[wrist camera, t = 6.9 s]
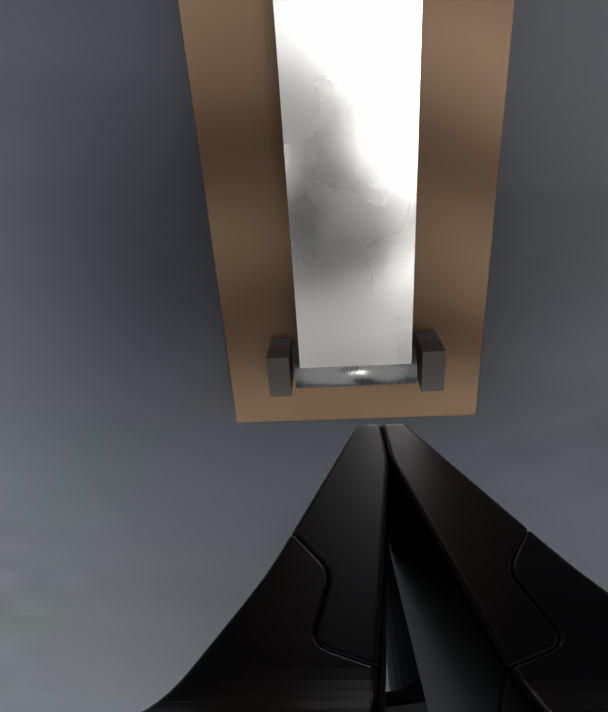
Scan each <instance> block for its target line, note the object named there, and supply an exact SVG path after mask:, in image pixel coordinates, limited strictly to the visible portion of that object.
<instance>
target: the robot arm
mask: <svg viewBox="0 0 608 712" xmlns="http://www.w3.org/2000/svg"><path fill="white" fill-rule="evenodd" d="M386 659H387V667H388V676H389V685H390V691H389V692H385V686H386ZM143 712H608V592H606V591H605V590H603V589H602V588H601V587H599V586H598V585H597V584H595V583H594V582H593V581H591V580H590V579H589V578H587V577H586V576H585V575H583V574H582V573H580V572H579V571H578V570H577V569H575V568H574V567H573V566H572V565H570V564H569V563H568V562H567V561H565V560H564V559H563V558H562V557H560V556H559V555H558V554H557V553H556V552H554V551H553V550H552V549H551V548H549V547H548V546H547V545H546V544H545V543H543V542H542V541H541V540H540V539H539V538H538V537H536V536H535V535H534V534H533V533H532V532H527V528H526V527H524V526H523V525H522V524H521V523H520V522H519V521H517V520H516V519H515V518H514V517H513V516H511V515H510V514H509V513H508V512H507V511H506V510H504V509H503V508H502V507H501V506H500V505H499V504H497V503H496V502H495V501H494V500H493V499H492V498H490V497H489V496H488V495H487V494H486V493H484V492H483V491H482V490H481V489H480V488H479V487H477V486H476V485H475V484H474V483H473V482H472V481H470V480H469V479H468V478H467V477H466V476H465V475H463V474H462V473H461V472H460V471H459V470H457V469H456V468H455V467H454V466H453V465H452V464H450V463H449V462H448V461H447V460H446V459H445V458H443V457H442V456H441V455H440V454H439V453H438V452H436V451H435V450H434V449H433V448H432V447H430V446H429V445H428V444H427V443H426V442H425V441H423V440H422V439H421V438H420V437H419V436H418V435H416V434H415V433H414V432H413V431H412V430H411V429H409V428H408V427H407V426H406V425H404V424H385V425H383V426H382V427H380V426H379V425H359V426H357V427H356V429H355V430H354V432H353V434H352V435H351V437H350V439H349V440H348V442H347V444H346V445H345V447H344V449H343V450H342V452H341V454H340V455H339V457H338V459H337V460H336V462H335V464H334V465H333V467H332V469H331V470H330V472H329V474H328V475H327V477H326V479H325V480H324V482H323V484H322V485H321V487H320V489H319V490H318V492H317V493H316V495H315V497H314V498H313V500H312V502H311V503H310V505H309V507H308V508H307V510H306V512H305V513H304V515H303V517H302V518H301V520H300V522H299V523H298V525H297V527H296V528H295V530H294V532H293V533H292V536H291V537H290V538H289V540H288V541H287V543H286V545H285V546H284V548H283V550H282V551H281V553H280V554H279V556H278V557H277V559H276V561H275V562H274V564H273V565H272V567H271V568H270V570H269V571H268V573H267V574H266V576H265V577H264V578H263V580H262V581H261V582H260V584H259V585H258V586H257V588H256V589H255V590H254V591H253V593H252V594H251V595H250V597H249V598H248V599H247V601H246V602H245V603H244V604H243V606H242V607H241V608H240V609H239V611H238V612H237V613H236V614H235V615H234V617H233V618H232V619H231V620H230V622H229V623H228V624H227V625H226V626H225V628H224V629H223V630H222V631H221V633H220V634H219V635H218V636H217V638H216V639H215V640H214V641H213V642H212V644H211V645H210V646H209V647H208V649H207V650H206V651H205V652H204V654H203V655H202V656H201V657H200V658H199V660H198V661H197V662H196V663H195V665H194V666H193V667H192V668H191V669H190V671H189V672H188V673H187V674H186V675H185V677H184V678H183V679H182V680H181V681H180V682H179V683H178V684H177V685H176V686H175V687H174V688H173V689H172V690H171V691H170V692H169V693H168V694H167V695H165V696H164V697H163V698H162V699H161V700H159V701H158V702H157V703H155V704H154V705H153V706H151V707H150V708H148V709H146V710H145V711H143Z"/></svg>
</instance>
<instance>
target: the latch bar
mask: <svg viewBox="0 0 608 712" xmlns="http://www.w3.org/2000/svg"><path fill="white" fill-rule="evenodd" d="M422 2H423V0H273V8H274V22H275V35H276V49H277V62H278V76H279V89H280V103H281V116H282V130H283V144H284V157H285V171H286V184H287V198H288V211H289V225H290V238H291V252H292V266H293V279H294V293H295V306H296V320H297V333H298V347H299V351H295V358H294V365H295V382H296V388H321V387H348V386H375V385H402V384H416V381H417V357H416V351H415V348H414V346H412V328H413V295H414V263H415V230H416V197H417V165H418V132H419V100H420V67H421V34H422Z"/></svg>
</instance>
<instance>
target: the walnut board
mask: <svg viewBox="0 0 608 712" xmlns="http://www.w3.org/2000/svg"><path fill="white" fill-rule="evenodd" d="M514 1H515V0H423V2H422V34H421V67H420V100H419V132H418V165H417V197H416V230H415V263H414V295H413V328H412V346H414V348H415V351H416V357H417V381H416V384H402V385H375V386H348V387H321V388H296V382H295V365H294V358H295V351H299V347H298V333H297V320H296V306H295V293H294V279H293V266H292V252H291V238H290V225H289V211H288V198H287V184H286V171H285V157H284V144H283V130H282V116H281V103H280V89H279V76H278V62H277V49H276V35H275V22H274V8H273V0H178V3H179V10H180V18H181V25H182V32H183V39H184V46H185V53H186V60H187V68H188V75H189V82H190V89H191V96H192V103H193V110H194V118H195V125H196V132H197V139H198V146H199V153H200V161H201V168H202V175H203V182H204V189H205V196H206V203H207V211H208V218H209V225H210V232H211V239H212V246H213V254H214V261H215V268H216V275H217V282H218V289H219V296H220V304H221V311H222V318H223V325H224V332H225V339H226V347H227V354H228V361H229V368H230V375H231V382H232V389H233V397H234V404H235V411H236V418H237V423H239V422H269V421H299V420H329V419H358V418H388V417H418V416H448V415H475V413H476V403H477V392H478V382H479V371H480V361H481V350H482V339H483V329H484V318H485V308H486V297H487V287H488V276H489V265H490V255H491V244H492V234H493V223H494V213H495V202H496V192H497V181H498V170H499V160H500V149H501V139H502V128H503V118H504V107H505V97H506V86H507V75H508V65H509V54H510V44H511V33H512V23H513V12H514Z"/></svg>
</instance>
